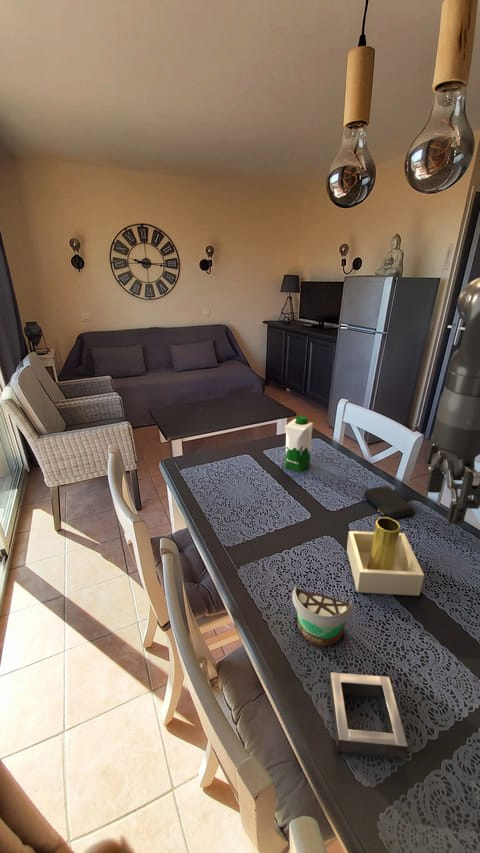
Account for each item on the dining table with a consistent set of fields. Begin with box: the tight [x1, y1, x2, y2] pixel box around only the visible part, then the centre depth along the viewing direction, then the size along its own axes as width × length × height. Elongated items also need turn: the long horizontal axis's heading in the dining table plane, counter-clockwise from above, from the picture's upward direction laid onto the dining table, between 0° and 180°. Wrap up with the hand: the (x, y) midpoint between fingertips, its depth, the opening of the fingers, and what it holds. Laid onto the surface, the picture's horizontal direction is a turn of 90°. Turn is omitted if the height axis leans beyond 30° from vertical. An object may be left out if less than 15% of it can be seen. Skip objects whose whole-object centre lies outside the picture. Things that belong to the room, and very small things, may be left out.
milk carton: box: [284, 414, 314, 473], centre depth 134 cm, size 9×9×20 cm
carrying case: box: [364, 485, 416, 520], centre depth 114 cm, size 11×3×15 cm
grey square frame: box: [328, 671, 409, 759], centre depth 61 cm, size 10×10×4 cm
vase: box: [367, 516, 401, 571], centre depth 87 cm, size 6×6×14 cm
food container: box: [291, 585, 354, 647], centre depth 73 cm, size 12×6×10 cm, turn 68°
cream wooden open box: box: [346, 530, 425, 597], centre depth 89 cm, size 14×14×7 cm
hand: (443, 505), depth 61 cm, fingers open, 8 cm apart
